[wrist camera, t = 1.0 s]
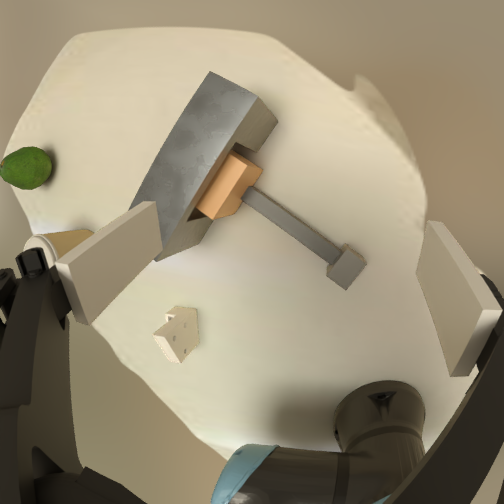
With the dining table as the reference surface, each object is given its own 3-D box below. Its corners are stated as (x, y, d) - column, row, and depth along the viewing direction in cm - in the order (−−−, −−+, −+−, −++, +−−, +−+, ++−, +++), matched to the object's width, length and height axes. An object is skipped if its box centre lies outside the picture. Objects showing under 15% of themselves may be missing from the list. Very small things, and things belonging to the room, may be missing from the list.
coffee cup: (93, 287, 50) (46, 308, 39) (64, 251, 51) (16, 265, 39) (114, 250, 48) (63, 267, 36) (83, 213, 48) (31, 222, 37)
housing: (278, 121, 38) (258, 96, 27) (198, 244, 44) (156, 261, 33) (241, 99, 38) (210, 71, 27) (166, 219, 44) (118, 230, 33)
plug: (370, 248, 38) (379, 261, 30) (337, 289, 40) (338, 312, 32) (232, 150, 40) (210, 141, 32) (205, 193, 42) (178, 194, 34)
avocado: (64, 166, 47) (14, 166, 36) (46, 196, 50) (-2, 201, 38) (49, 139, 47) (2, 136, 36) (32, 168, 50) (-13, 170, 38)
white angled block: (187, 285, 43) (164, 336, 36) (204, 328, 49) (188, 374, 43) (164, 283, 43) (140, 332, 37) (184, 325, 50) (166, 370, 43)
